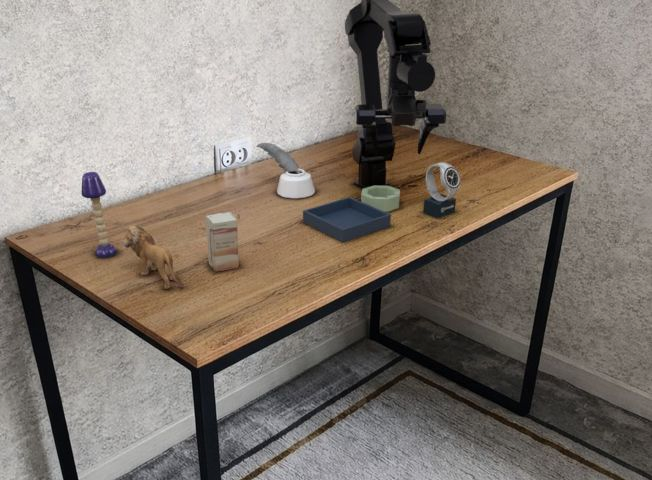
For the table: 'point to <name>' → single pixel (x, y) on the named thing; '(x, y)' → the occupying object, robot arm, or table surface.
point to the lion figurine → (150, 253)
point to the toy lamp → (97, 211)
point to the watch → (440, 202)
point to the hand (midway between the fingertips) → (397, 153)
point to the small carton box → (222, 241)
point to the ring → (381, 197)
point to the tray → (346, 219)
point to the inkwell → (290, 174)
